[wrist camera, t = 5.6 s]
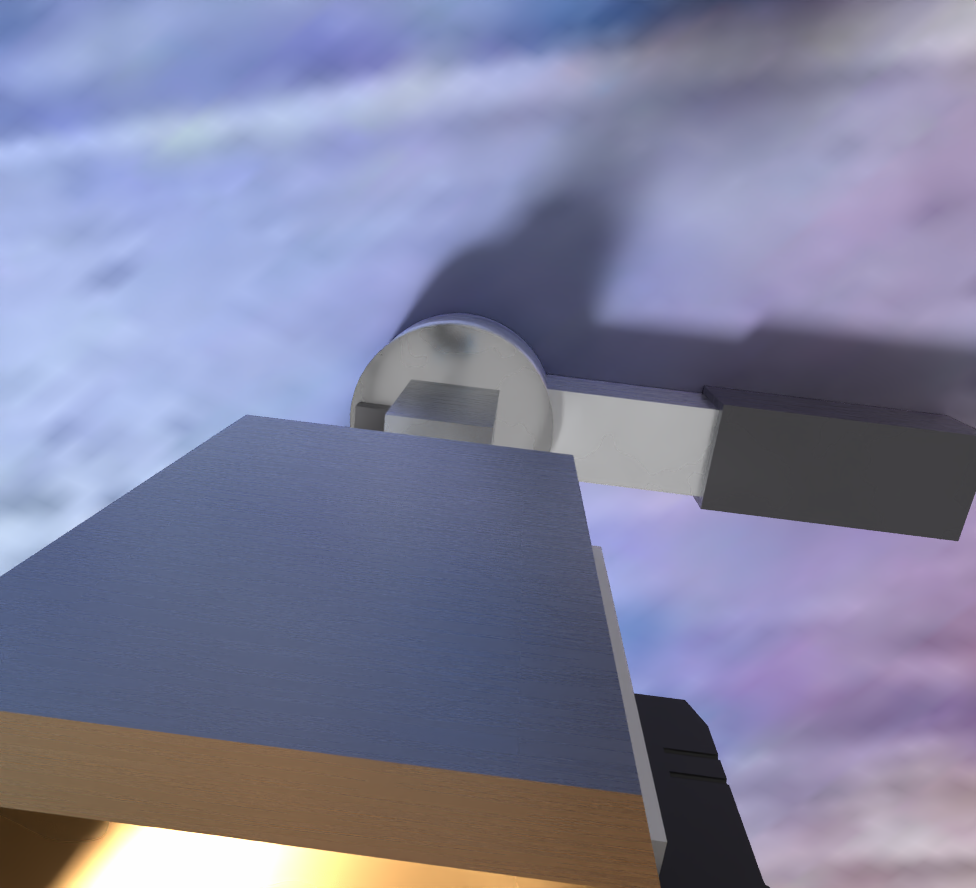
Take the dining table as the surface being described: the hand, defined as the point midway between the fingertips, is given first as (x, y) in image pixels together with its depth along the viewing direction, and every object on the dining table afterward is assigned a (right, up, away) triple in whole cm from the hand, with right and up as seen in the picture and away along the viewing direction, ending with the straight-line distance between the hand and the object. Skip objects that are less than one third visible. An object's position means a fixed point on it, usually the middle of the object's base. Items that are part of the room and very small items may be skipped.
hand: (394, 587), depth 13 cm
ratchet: (+8, +3, +13) cm, 16 cm away
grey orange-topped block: (0, 0, 0) cm, 0 cm away
